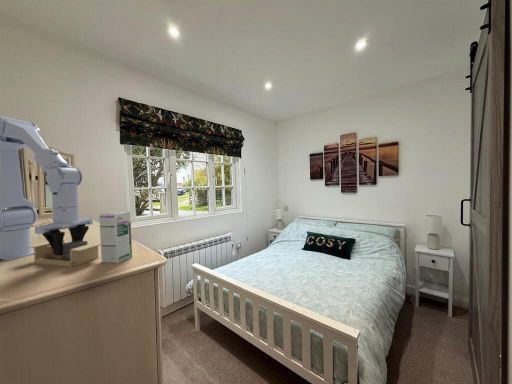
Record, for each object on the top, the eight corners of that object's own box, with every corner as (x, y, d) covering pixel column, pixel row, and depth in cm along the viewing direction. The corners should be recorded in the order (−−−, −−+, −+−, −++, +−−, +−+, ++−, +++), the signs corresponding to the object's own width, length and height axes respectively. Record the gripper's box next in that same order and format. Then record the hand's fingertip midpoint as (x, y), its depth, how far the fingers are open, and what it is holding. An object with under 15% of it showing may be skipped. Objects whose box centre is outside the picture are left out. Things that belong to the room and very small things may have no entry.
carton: (27, 262, 64) (26, 246, 64) (56, 254, 72) (55, 239, 72) (80, 268, 60) (80, 250, 59) (106, 258, 67) (105, 242, 67)
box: (46, 261, 65) (45, 243, 64) (63, 256, 69) (62, 239, 69) (72, 264, 62) (71, 245, 62) (88, 258, 67) (87, 241, 66)
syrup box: (117, 263, 63) (115, 213, 62) (100, 262, 64) (98, 213, 64) (132, 257, 68) (131, 211, 68) (116, 256, 70) (115, 210, 69)
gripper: (47, 210, 57) (50, 261, 58) (99, 205, 71) (100, 246, 72) (28, 210, 59) (30, 259, 59) (82, 204, 73) (84, 245, 73)
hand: (67, 252), depth 65 cm, fingers closed on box, 4 cm apart
